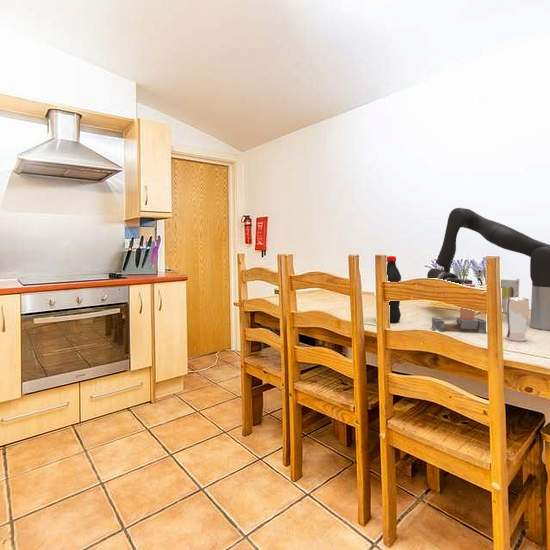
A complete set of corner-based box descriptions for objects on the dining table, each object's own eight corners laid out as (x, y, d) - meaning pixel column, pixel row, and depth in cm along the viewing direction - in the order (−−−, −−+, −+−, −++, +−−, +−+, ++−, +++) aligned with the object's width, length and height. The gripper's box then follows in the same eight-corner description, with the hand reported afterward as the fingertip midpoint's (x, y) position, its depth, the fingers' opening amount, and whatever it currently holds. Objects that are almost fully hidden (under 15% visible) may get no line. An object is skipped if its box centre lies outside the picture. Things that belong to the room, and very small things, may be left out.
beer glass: (504, 340, 130) (506, 299, 128) (504, 335, 136) (506, 296, 134) (527, 342, 126) (529, 300, 125) (527, 338, 132) (529, 297, 130)
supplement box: (492, 312, 179) (493, 278, 178) (496, 309, 186) (497, 277, 184) (515, 314, 173) (516, 279, 171) (518, 311, 179) (519, 278, 178)
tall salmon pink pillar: (472, 325, 147) (473, 283, 145) (477, 329, 140) (479, 285, 139) (456, 324, 148) (457, 283, 146) (461, 328, 141) (462, 285, 140)
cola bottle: (377, 321, 164) (377, 256, 161) (387, 318, 169) (388, 255, 166) (394, 324, 157) (394, 256, 154) (404, 321, 163) (405, 255, 160)
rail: (480, 328, 146) (481, 316, 146) (487, 333, 140) (488, 320, 139) (431, 327, 150) (431, 315, 149) (436, 332, 143) (436, 319, 143)
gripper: (431, 272, 170) (441, 276, 154) (464, 272, 168) (476, 276, 152) (431, 287, 171) (440, 293, 155) (463, 288, 169) (476, 293, 153)
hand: (458, 284), depth 154 cm, fingers open, 8 cm apart
